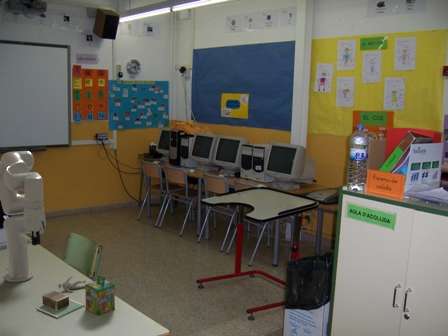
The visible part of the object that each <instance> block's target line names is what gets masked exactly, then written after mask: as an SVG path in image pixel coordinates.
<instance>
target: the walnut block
mask: <svg viewBox="0 0 448 336" xmlns="http://www.w3.org/2000/svg"><path fill="white" fill-rule="evenodd" d="M41 297H42V298H41V299H42V306H43V305H46V306H48V307H51V308H53V309H56V310H60V309H62V308H64V307H66V306H68V305H69V299H70V297H69V295H67V294H63V293H61V292H59V291H55V290H53V291H50V292H48V293H46V294H43V295H42V296H41Z"/></svg>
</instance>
